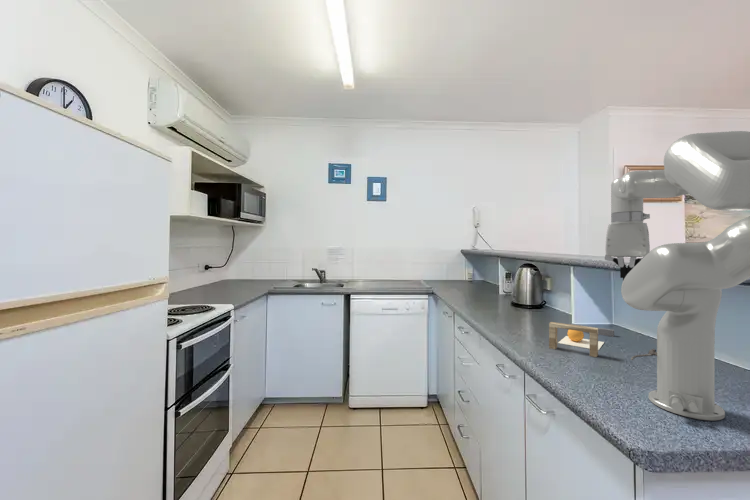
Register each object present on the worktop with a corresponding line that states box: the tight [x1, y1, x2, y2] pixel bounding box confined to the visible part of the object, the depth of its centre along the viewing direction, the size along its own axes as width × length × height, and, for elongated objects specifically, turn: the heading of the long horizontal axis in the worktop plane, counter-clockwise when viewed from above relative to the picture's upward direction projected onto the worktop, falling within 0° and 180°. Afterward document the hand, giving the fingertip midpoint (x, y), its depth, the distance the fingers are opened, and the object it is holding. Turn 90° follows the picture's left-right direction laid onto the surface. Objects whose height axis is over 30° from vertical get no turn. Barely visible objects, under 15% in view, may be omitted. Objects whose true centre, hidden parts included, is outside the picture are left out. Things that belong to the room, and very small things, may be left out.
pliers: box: [630, 348, 657, 361], centre depth 108 cm, size 10×1×20 cm
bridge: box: [548, 321, 599, 358], centre depth 113 cm, size 3×14×9 cm, turn 47°
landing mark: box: [557, 335, 605, 351], centre depth 123 cm, size 13×13×1 cm
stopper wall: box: [569, 323, 615, 338], centre depth 138 cm, size 2×16×2 cm, turn 47°
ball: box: [566, 329, 585, 342], centre depth 125 cm, size 6×6×6 cm
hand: (626, 280), depth 95 cm, fingers closed
